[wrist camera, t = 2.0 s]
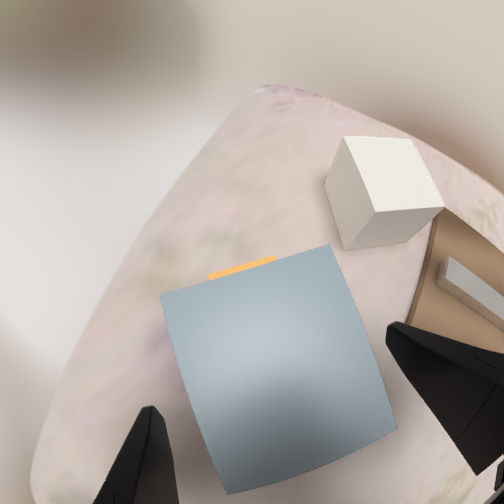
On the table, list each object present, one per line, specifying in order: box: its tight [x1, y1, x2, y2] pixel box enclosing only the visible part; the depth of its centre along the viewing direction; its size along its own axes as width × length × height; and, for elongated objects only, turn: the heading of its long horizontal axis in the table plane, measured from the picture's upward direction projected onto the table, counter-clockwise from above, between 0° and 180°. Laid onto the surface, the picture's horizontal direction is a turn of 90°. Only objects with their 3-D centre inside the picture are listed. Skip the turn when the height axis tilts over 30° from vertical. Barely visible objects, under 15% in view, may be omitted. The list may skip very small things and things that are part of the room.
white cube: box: [324, 136, 445, 252], centre depth 19 cm, size 6×6×6 cm
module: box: [160, 244, 397, 495], centre depth 12 cm, size 7×6×10 cm
